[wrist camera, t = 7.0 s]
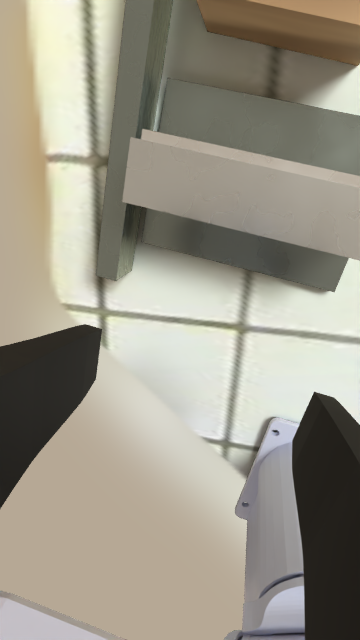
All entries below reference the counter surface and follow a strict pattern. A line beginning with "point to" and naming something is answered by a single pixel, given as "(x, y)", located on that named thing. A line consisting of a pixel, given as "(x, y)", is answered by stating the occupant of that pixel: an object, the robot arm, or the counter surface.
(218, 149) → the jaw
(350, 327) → the counter surface
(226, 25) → the block
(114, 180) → the vise body
